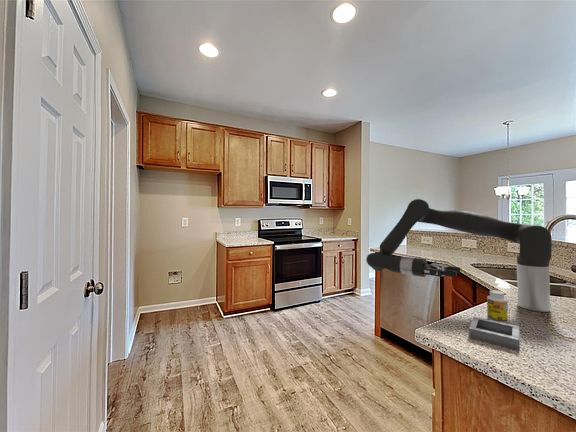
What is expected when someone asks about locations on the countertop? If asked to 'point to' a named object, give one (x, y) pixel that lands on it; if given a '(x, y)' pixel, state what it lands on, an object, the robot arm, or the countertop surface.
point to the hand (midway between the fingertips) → (458, 272)
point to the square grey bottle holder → (494, 337)
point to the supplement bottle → (497, 307)
